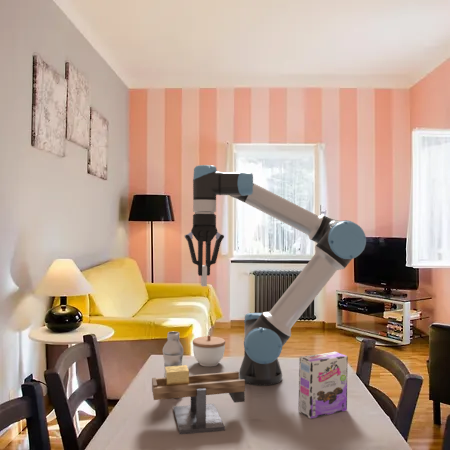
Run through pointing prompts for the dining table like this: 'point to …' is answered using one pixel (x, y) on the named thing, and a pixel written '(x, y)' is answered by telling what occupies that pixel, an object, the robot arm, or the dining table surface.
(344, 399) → the candy box
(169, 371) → the block
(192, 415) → the pivot stand
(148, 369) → the dining table surface
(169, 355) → the plastic bottle
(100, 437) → the dining table surface
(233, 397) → the beam
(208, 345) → the lidded bowl
